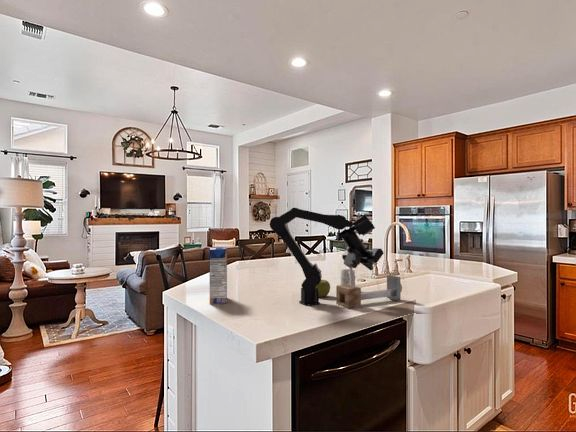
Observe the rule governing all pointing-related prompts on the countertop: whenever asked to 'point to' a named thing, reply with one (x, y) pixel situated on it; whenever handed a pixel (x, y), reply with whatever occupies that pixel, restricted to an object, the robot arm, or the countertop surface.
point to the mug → (347, 277)
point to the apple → (323, 288)
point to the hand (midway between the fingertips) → (371, 269)
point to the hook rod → (391, 292)
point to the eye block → (348, 296)
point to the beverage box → (218, 275)
